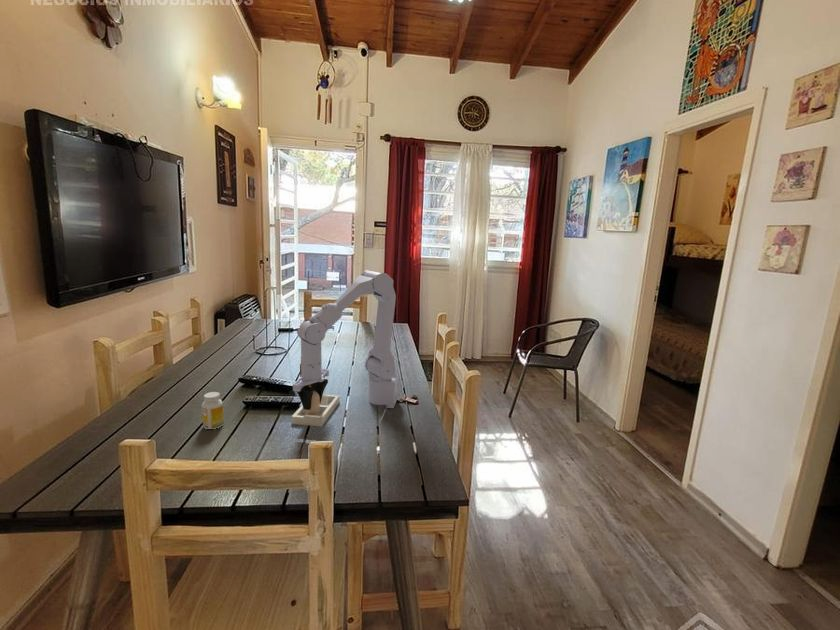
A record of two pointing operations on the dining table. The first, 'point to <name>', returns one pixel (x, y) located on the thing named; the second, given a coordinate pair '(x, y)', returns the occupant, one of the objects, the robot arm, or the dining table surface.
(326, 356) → the dining table surface
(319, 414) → the holder
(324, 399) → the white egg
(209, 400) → the supplement bottle
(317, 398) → the brown egg
